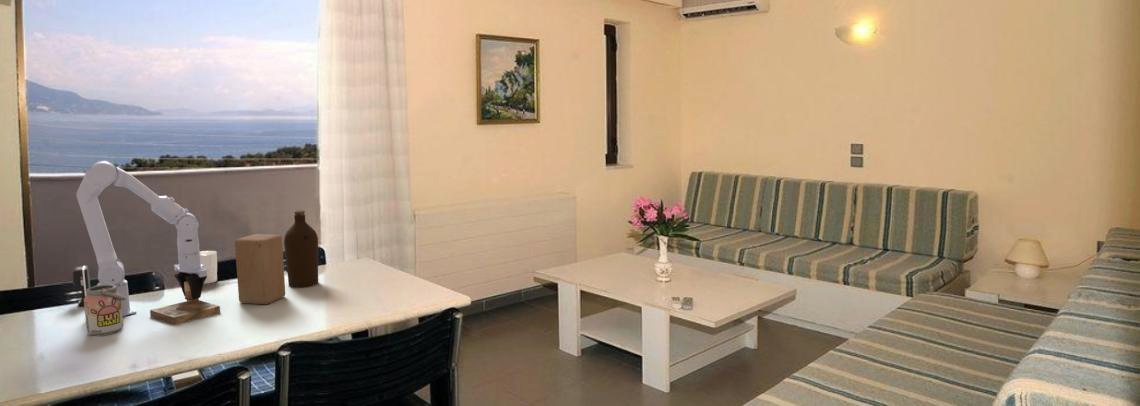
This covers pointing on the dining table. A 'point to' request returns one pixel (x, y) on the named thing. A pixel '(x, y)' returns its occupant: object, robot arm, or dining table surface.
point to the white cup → (209, 265)
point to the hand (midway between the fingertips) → (192, 296)
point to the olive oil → (301, 253)
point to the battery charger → (81, 281)
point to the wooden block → (260, 268)
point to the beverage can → (103, 310)
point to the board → (184, 311)
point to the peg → (188, 292)
